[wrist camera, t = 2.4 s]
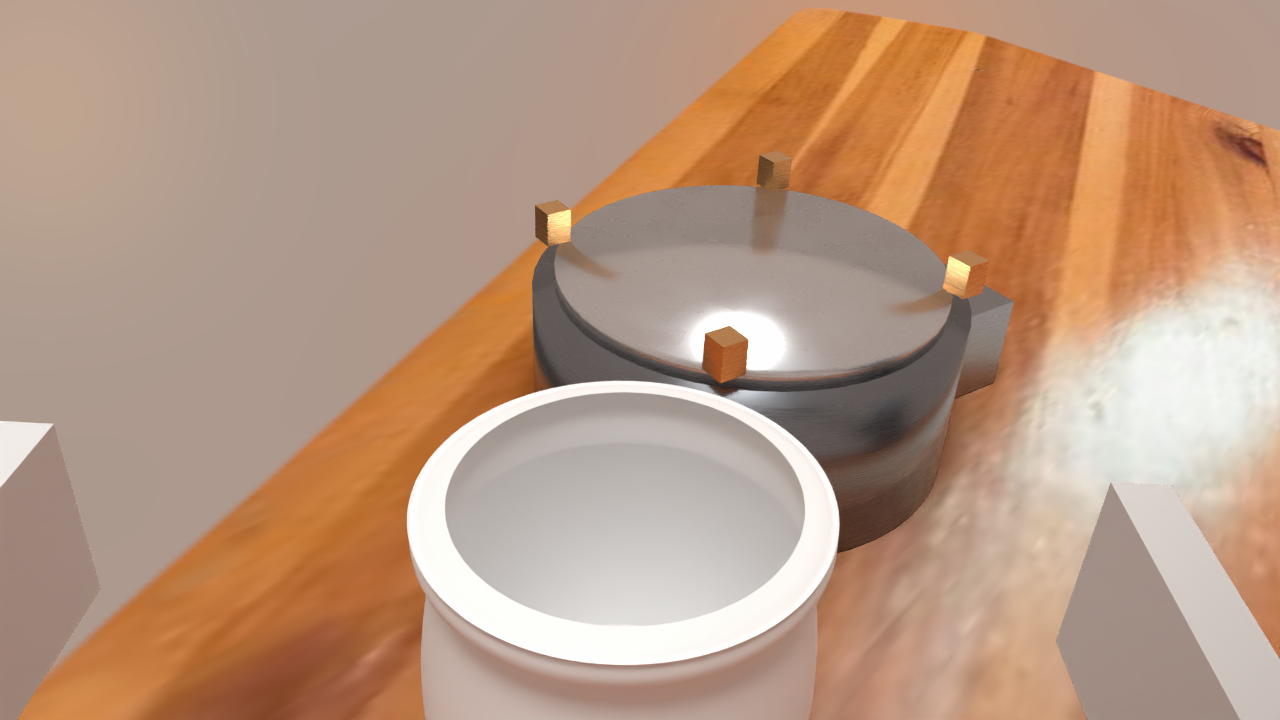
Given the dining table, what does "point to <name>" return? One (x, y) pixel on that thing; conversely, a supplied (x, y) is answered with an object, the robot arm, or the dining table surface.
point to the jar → (621, 560)
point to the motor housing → (777, 324)
